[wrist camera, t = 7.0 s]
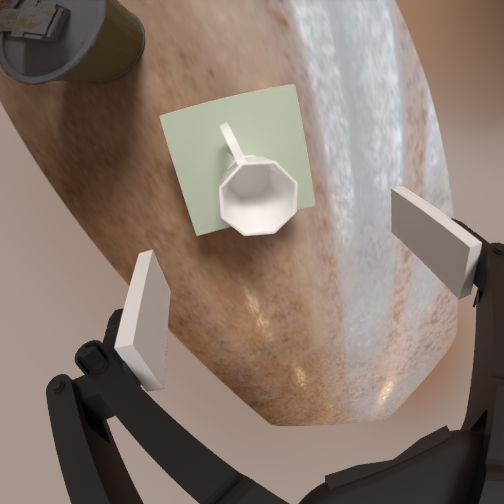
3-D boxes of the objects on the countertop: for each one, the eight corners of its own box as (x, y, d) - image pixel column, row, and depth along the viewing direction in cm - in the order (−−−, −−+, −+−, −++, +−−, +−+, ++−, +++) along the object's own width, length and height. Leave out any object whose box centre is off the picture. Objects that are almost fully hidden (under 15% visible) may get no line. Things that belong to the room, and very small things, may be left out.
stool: (168, 110, 36) (159, 116, 29) (276, 84, 36) (294, 84, 29) (197, 208, 43) (196, 235, 36) (295, 183, 43) (315, 205, 36)
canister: (158, 18, 29) (120, -37, 12) (126, 91, 34) (60, 97, 16) (86, 2, 26) (9, -41, 9) (56, 73, 30) (-38, 77, 13)
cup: (230, 215, 35) (238, 250, 28) (189, 135, 30) (184, 149, 23) (288, 188, 34) (311, 217, 28) (252, 105, 29) (268, 111, 22)
